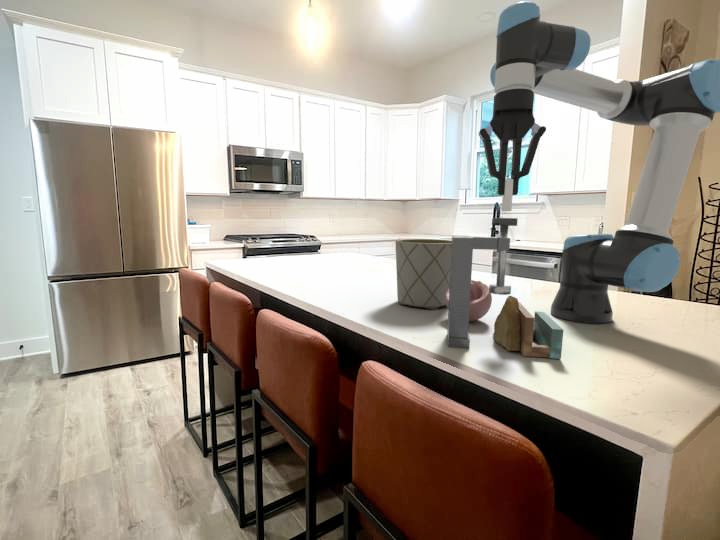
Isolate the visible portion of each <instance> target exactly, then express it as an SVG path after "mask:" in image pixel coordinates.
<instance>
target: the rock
mask: <svg viewBox="0 0 720 540" xmlns="http://www.w3.org/2000/svg"><path fill="white" fill-rule="evenodd" d="M518 302H519V300H518V298H517V297H515V296H512V295H507V298H506V300H505V302H504V304H503V305H502V307H501V310H500V311H499V312H500V313H498V315H497V317H496V318H495V321H494V325H493V327H494V329H493V330H494V331H493V333H492V336H493V340H494V341H496V343H497V344H499V345H501V346H502V347H503V348H506V350H507V351H509V352H512V351H514V352H515V351H520V343H521V333H520V331H521V326H520V313H519V304H518Z"/></svg>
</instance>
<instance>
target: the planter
mask: <svg viewBox="0 0 720 540" xmlns="http://www.w3.org/2000/svg"><path fill="white" fill-rule="evenodd" d="M451 247H452V239H451V240H449V239H437V238H436V239H435V238H434V239H433V238H431V239H430V238H404V239H396V240H395V264H396V268H395V269H396V288H397V289H396V290H397V291H396V292H397V301H398V304H399V305H404V306H405V305H407V306H411V307H416V308H424V309H425V308H426V309H429V310H433V311H435V310H437V309H438V308H440V307H443V306H446V302H445V294H446V292H447V291H448V289H449V288H450V268H451Z"/></svg>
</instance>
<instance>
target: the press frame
mask: <svg viewBox="0 0 720 540" xmlns="http://www.w3.org/2000/svg"><path fill="white" fill-rule="evenodd" d="M451 241H452V247H451V268H450V289H449V309H448V308H447V310H448V311H447V313H448V315H447V331H446V332H447V335H446V336H447V347H448V348H458V349H470V345H471V343H470V341H471V339H470V335H469V322H470V321H469V308H470V290H471V280H472V271H473V269H472V268H473V255H474V254H473V251H474V250H494V251H499V250H507V251H510V249H511V248H510V247H511V246H510V245H511V238H510V237H508V238H500V236H471V235H451Z"/></svg>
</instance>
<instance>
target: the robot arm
mask: <svg viewBox="0 0 720 540" xmlns="http://www.w3.org/2000/svg"><path fill="white" fill-rule="evenodd" d="M540 19H541V13H540V6H539V5H537V3H535V2H534V1H533V2H532V1H520V2H516V3H514V4H511V5H509V6H507V7H506V8H505V9H503V11H502V12H501V13H500V15H499V17H498V24H497V32H496V37H495V38H496V54H495V55H496V56H495V63H493V65H492V67H491V69H490V75H489V76H490V77H489V78H490V82H491V85H492V87H493V88H494V91H493V92H494V93H495V95H493V108H492V118H491V120H490V121H489V125H487V126H486V127H484V128H481V129H480V130H479V132H478V136H479V138H480V140H481V141H482V142H483V147H484V153H485V158H486V163H487V169H488V173H489V176H490V177H491V178H495V179H497V181H498V182H497V194H498V196H502V202H501V212H512V209H513V208H512V206H513V205H512V204H513V196H517V195H518V193H519V181H520V179H521V178H523V177H525V176H528V175H529V174H530V171H531V168H532V164H533V161H534V158H535V155H536V152H537V149H538V146H539V142H540V139H541V138H542V136H543V135H544V134H545V132H546V131H547V127H546V126H544V125H542V126H540V125H539V124H537V123H536V119H535V117H534V97H535V94H536V95H538V96H542V97H546V98H548V99H552V100H555V101H559V102H562V103H565V104H569V105H573V106H576V107H579V108H583V109H586V110H588V111H589V110H590V111H592V112H596V114H597V115H598V116H599V117H600V118H602V119H604V120H608V121H611V122H615V123H618V124H619V123H620V124H625V125H631V126H638V127H640V126H641V127H644V126H646V127H648V126H650V128H652V130H653V131H654V132H653V136H652V139H651V142H650V145H649V148H648V151H647V153H646V157H645V161H644V163H643V167H642V171H641V174H640V176H639V181H638V184H637V187H636V190H635V193H634V197H633V200H632V203H631V206H630V209H629V212H628V215H627V219H626V221H625V222H626V223H625V225H624V226H622V227H620V228H618V229H617V230H615V234H614V235H613V234H611V233H609V234H608V233H602V234H601V233H600V234H579V235H570V236H568V237H566V238H565V239H564V242H563V248H562V249H561V250H562V253H561V254H562V255H561V265H560V266H561V268H560V280H559V288H558V291H556V295H555V297H554V299H553V301H552V304H551V305H550V314H551V315H552V316H555V317H556V318H559V319H563V320H566V321H570V322H571V321H572V322H575V323H583V324H584V323H586V324H606V323H607V324H608V323H610V322H612V321H613V314H614V312H613V308H612V305H611V304H612V303H611V300H610V297H609V293H608V289H609V286H613V287H617V288H622V289H628V290H630V291H633V292H645V293H652V292H653V293H655V292H658V291H661V290H662V289H663V288H665V287H667V286H668V285H669V284H670V283H672V281H673V280H674V279H675V277H676V276H677V274H678V272H679V269H680V266H681V258H680V257H681V256H680V255H681V254H680V251H679V250H678V248H677V247H675V246H674V241H675V239H674V238H673V236H672V235H671V234H670V232H669V230H670V228H671V225H672V221H673V218H674V215H675V212H676V209H677V206H678V202H679V198H680V196H681V193H682V191H683V190H682V189H683V187H684V185H685V184H684V183H685V180H686V177H687V174H688V172H689V168H690V165H691V161H692V159H693V155H694V152H695V150H696V146H697V142H698V140H699V136H700V133H702V132H704V131H705V130H707V129H709V128H710V127H711V126H712V123H713V119H714V117H715V115H716V114H717V113H720V59H717V58H710V59H706V60H703V61H699V62H697V61H696V62H694V63H691V64H689V65H687V66H684V67H681V68H678V69H674V70H672V71H668V72H665V73H662V74H659V75H656V76H652V77H648V78H645V79H640V80H637V81H636V80H635V81H629V80H626V79H617V80H615V81H614V80H611V79H608V78H605V77H601V76H598V75H596V74H592V73H589V72H587V71H583V70H579V69H578V67H580V66H581V65H582V64H583V63H584V61H585V60H586V58H587V57H588V56H589V52H590V48H591V40H592V39H591V36H590V34H589V32H587V31H586V30H584V29H580V28H577V27H575V26H573V25H572V26H571V25H564V24H557V23H552V22H551V23H550V22H546V21H543V20H540ZM530 130H531V132H530V135H531V139H530V141H529V145H528V147H527V151H526V154H525V157H524V161H523V164H522V166H521V157H522V143H523V138H525V136H526V135H527V134H528V133H529V131H530ZM492 132H493V133H494V135H495V136H496V138H497V139H498V140H499V156H498V158H499V159H498V170H497V163H496V161H495V160H496V159H495V155H494V148H493V143H492V139H491V136H492ZM510 141H511V142H512V155H511V157H512V158H511V172H510V173H511V174H510V177H511V178H506V177H507V168H508V167H507V164H508V152H509V151H508V150H509V142H510Z"/></svg>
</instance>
